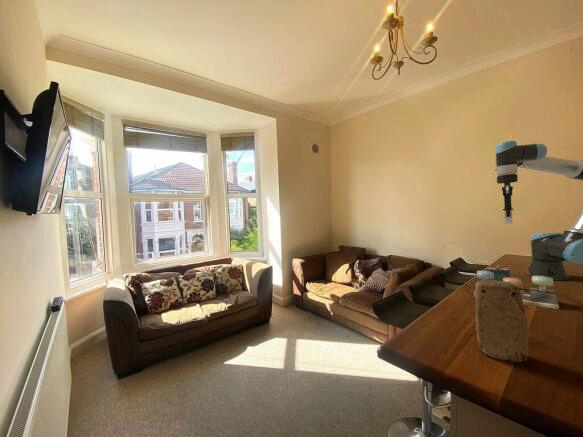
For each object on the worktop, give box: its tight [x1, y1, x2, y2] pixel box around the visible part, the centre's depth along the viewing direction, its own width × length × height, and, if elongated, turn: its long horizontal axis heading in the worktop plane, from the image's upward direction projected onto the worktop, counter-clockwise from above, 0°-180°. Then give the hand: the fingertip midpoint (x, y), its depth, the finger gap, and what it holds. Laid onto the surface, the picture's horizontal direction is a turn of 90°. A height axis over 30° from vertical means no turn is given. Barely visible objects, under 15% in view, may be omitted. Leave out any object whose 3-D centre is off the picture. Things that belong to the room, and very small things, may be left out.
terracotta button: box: [503, 277, 523, 288], centre depth 106 cm, size 6×6×6 cm
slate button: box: [476, 270, 494, 280], centre depth 112 cm, size 6×6×6 cm
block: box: [474, 279, 529, 363], centre depth 68 cm, size 11×8×20 cm
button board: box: [473, 281, 560, 310], centre depth 106 cm, size 26×10×5 cm, turn 48°
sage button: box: [531, 276, 554, 293], centre depth 99 cm, size 6×6×6 cm
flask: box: [485, 265, 511, 282], centre depth 120 cm, size 9×3×11 cm, turn 68°
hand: (508, 223), depth 121 cm, fingers closed
